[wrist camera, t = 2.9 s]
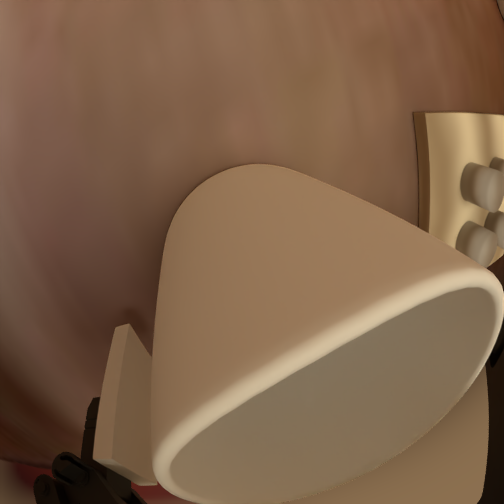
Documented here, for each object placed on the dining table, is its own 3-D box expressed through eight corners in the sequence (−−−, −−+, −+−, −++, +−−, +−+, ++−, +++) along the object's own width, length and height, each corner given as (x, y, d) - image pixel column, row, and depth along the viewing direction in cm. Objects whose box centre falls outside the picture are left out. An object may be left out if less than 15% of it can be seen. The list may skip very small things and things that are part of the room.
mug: (327, 339, 17) (406, 463, 8) (205, 372, 16) (237, 525, 7) (325, 150, 12) (540, 224, 3) (145, 182, 11) (30, 377, 2)
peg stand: (410, 305, 18) (438, 331, 15) (412, 112, 12) (459, 116, 9) (496, 250, 20) (519, 265, 17) (504, 114, 13) (534, 121, 10)
